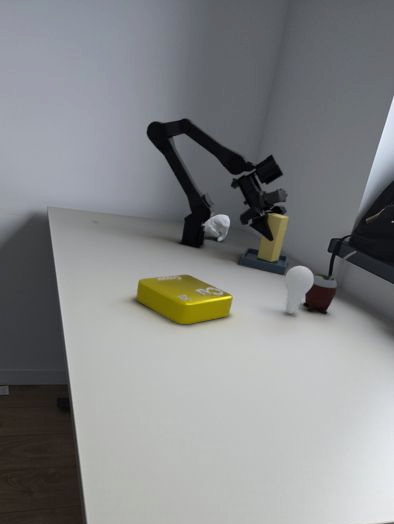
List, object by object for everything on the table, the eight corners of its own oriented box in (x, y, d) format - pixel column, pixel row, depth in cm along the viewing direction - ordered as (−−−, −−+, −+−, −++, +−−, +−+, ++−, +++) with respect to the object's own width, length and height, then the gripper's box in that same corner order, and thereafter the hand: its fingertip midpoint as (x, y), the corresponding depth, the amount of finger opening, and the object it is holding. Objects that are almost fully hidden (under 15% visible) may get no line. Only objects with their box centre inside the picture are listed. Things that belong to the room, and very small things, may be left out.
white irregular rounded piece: (231, 217, 164) (195, 213, 164) (228, 242, 167) (193, 239, 167) (230, 214, 170) (195, 210, 170) (227, 238, 173) (193, 235, 173)
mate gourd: (294, 306, 117) (311, 243, 111) (311, 301, 122) (328, 242, 116) (322, 317, 113) (341, 253, 106) (338, 312, 118) (357, 251, 112)
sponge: (256, 260, 149) (267, 213, 143) (264, 258, 152) (275, 213, 147) (270, 265, 146) (281, 217, 141) (277, 263, 150) (289, 217, 144)
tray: (239, 264, 144) (241, 256, 143) (246, 254, 158) (247, 247, 157) (283, 274, 142) (285, 267, 141) (286, 263, 156) (288, 256, 155)
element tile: (184, 291, 112) (187, 271, 110) (232, 316, 103) (237, 294, 101) (131, 298, 101) (134, 276, 100) (180, 326, 93) (185, 302, 91)
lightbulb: (305, 313, 113) (318, 267, 109) (301, 321, 108) (315, 272, 103) (279, 306, 114) (291, 260, 110) (274, 313, 109) (287, 265, 105)
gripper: (257, 176, 134) (283, 227, 134) (288, 178, 149) (311, 224, 148) (228, 199, 141) (252, 247, 141) (260, 199, 156) (282, 242, 155)
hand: (276, 240), depth 146 cm, fingers closed on sponge, 5 cm apart
